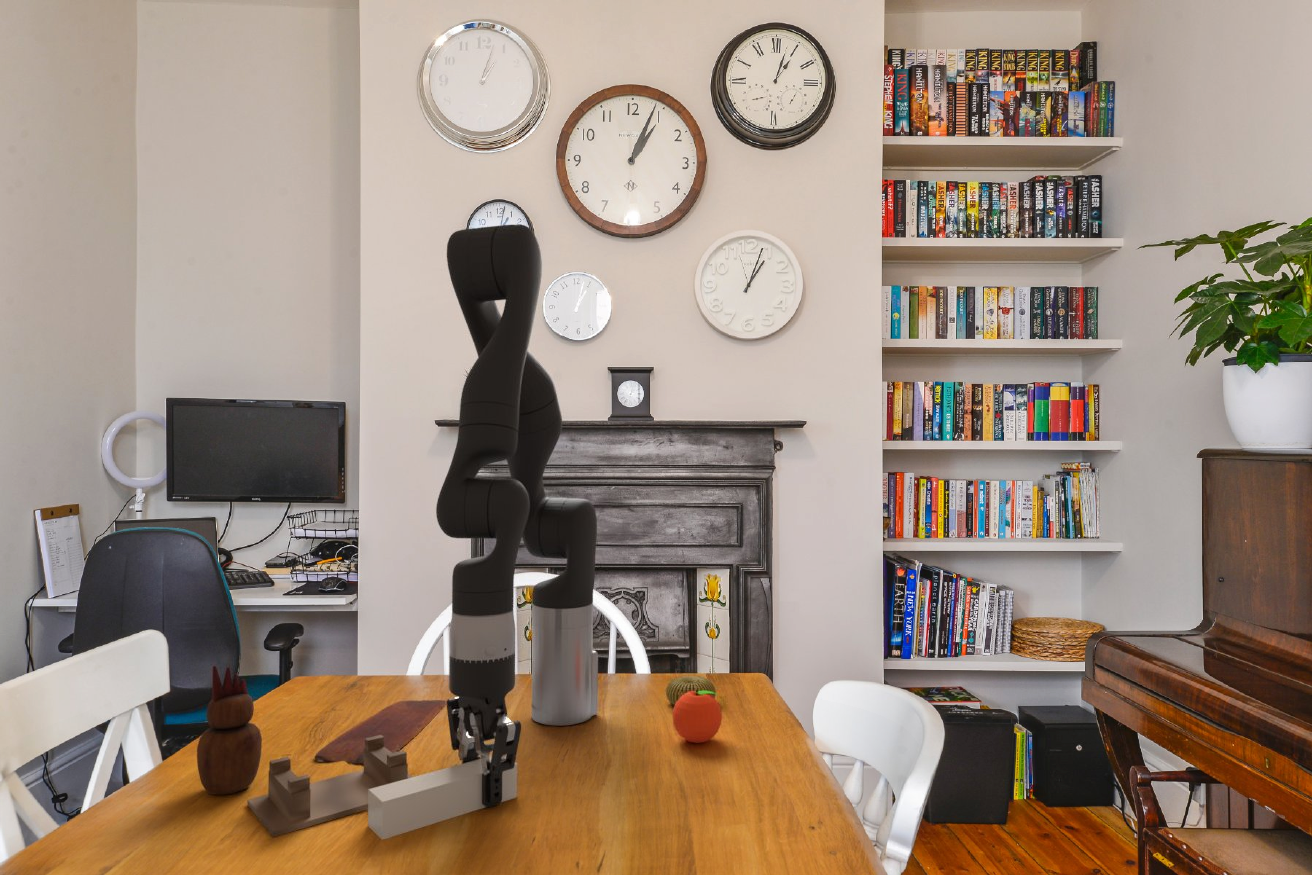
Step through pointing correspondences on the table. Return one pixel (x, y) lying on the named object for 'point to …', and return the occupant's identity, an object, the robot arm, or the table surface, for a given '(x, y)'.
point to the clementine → (697, 716)
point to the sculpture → (687, 687)
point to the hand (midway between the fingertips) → (481, 796)
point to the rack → (325, 790)
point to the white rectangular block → (431, 798)
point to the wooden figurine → (229, 738)
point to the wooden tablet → (382, 730)
